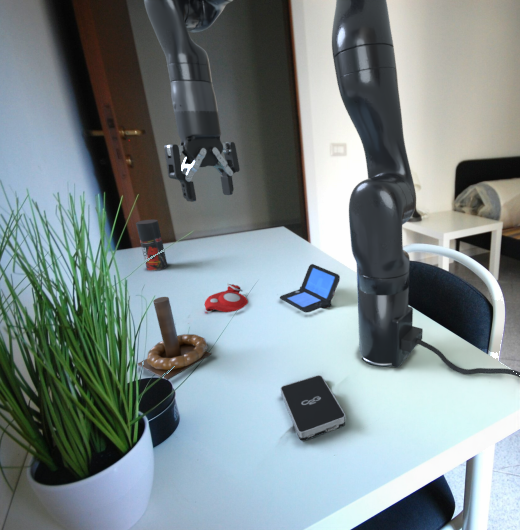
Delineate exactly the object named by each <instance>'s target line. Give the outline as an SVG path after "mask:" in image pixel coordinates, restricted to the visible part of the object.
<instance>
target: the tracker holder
mask: <svg viewBox="0 0 520 530" xmlns="http://www.w3.org/2000/svg"><path fill="white" fill-rule="evenodd" d="M226 286H227V289H226V290H224V291H219V292H216V293H214V294H211V295H209V296H207V298H206V299H205V300H204V308H205V310H206V312H213V311H215V310H216V311H219V312H223V313H231V312H235V311H239V310H242V309H243V308H244V307H246V306H247V305H248V303H249V301H248V298H247V297H246V296H245V295H243V294H242V293H240V292H243V289H241V286H240V285H238V284H233V283H232V284H230V283H226Z"/></svg>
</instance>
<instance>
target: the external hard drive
mask: <svg viewBox="0 0 520 530" xmlns="http://www.w3.org/2000/svg"><path fill="white" fill-rule="evenodd" d="M280 395H281V397H282V400H283V403H284V405H285V407H286V409H287V412H288V415H289V417H290V420H291V422H292V425H293V427H294V431H295V432H296V435H297V438H298V440H300V441H301V442H305V441H308V440H311V439H313V438H316V437H319V436H321V435H324V434H326V433H329V432H332V431H334V430H338V429H340V428H342V427H344V426H345V425H346V412H344V410H343V407H341V405H340V404H339V401H338V399H336V396H335V395H334V394H333V391H332V390H331V389H330V387H329V384H328V383H327V382H326V380H325V378H324V376H323V375H320V374H317V375H314V376H311V377H307V378H304V379H301V380H298V381H294V382H290V383H287V384H284V385H282V386H281V387H280Z"/></svg>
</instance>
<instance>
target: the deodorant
mask: <svg viewBox="0 0 520 530" xmlns="http://www.w3.org/2000/svg"><path fill="white" fill-rule="evenodd" d="M135 226H136V229H137V233H138V238H139V242H140V246H141V250H142V255H143V258H144V261H145V260H146V259H148V258H150V257H151V256H153V255H155V254H157V253H158V252H160V251H161V250H163V249H164V250H165V248H164V244H163V239H162V235H161V233H162V232H161V229H160V225H159V221H158V219H143V220H138V221H137V222H135ZM145 266H146V270H147V271H159V270H163V269H166V268H168V261H167V256H166V252H165V251H164V252H162V253H160V254H158V255H156V256H155V257H153V258H152V259H150V260H149V261H147V262H146V263H145Z"/></svg>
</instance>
